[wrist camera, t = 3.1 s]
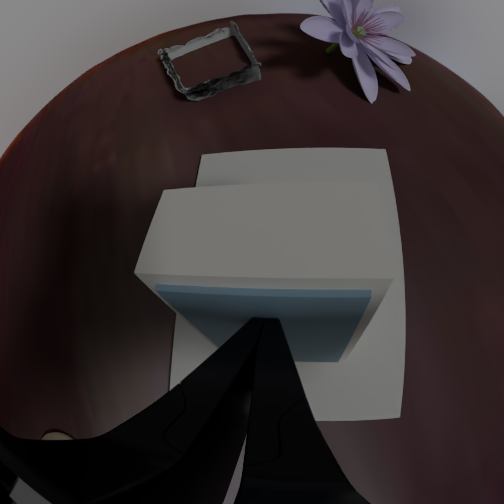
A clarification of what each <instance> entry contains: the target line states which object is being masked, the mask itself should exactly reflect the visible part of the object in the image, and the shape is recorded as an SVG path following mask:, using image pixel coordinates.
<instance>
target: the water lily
mask: <svg viewBox="0 0 504 504" xmlns="http://www.w3.org/2000/svg"><path fill="white" fill-rule="evenodd" d="M373 1H374V0H341V2H340V0H320V2H321V3H322V5H323V6H324V8H325V9H326V10H327V11H328V13H329V14H330V15H331V16H332V17H333V18H334V19H335V20H336V21H337V22H336V21H334V20H332V19H330V18H327V17H322V16H314V17H310V18H308V19H306V20H305V21H303V22H302V24H301V25H300V28H301V30H302V31H304V32H305V33H307V34H308V35H310V36H312V37H314V38H316V39H319V40H322V41H326V42H331V43H333V44H332V45H331V46H330V47H329V48H327V49H326V53H327V54H331V53H332V52H333V51H334V50H335V49H336V48H337V47H339V46H340V49H341V51H342V53H343V54H344V55H345V56H346V57H349V58H352V63H353V67H354V70H355V73H356V76H357V79H358V81H359V83H360V86H361V88H362V90H363V91H364V93H365V95H366V97H367V98H368V100H369V102H370V103H371V104H372V103H373V101H375V100H376V97H377V93H378V82H377V77H376V73H375V70H374V68H373V66H372V64H371V62H370V60H369V58H368V56H369V57H370V58H371V59H372V60H373V61H374V62H375V63H376V64H377V65H378V66H379V67H380V68H381V69H382V70H383V71H384V72H385V73H386V74H387V75H388V76H390V77H391V78H392V79H393V80H394V81H396V82H397V83H398V84H400V85H401V86H402V87H404V88H405V89H407V90H408V91H410V85H409V83H408V80H407V78H406V77H405V75H404V74H403V72H402V71H401V70H400V68H399V67H398V66H397V65H396V64H395V63H394V62H393V61H392V60H394V61H397V62H400V63H403V64H410V63H411V61H412V59H411V57H410V56H415V53H414V52H413V51H412V50H411V49H410V48H409V47H408V46H406V45H405V44H403V43H401V42H399V41H396V40H394V39H390V38H386V37H380V36H376V35H387V34H375V35H372V34H371V33H383V32H386V31H389V30H392V29H394V28H396V27H398V26H399V25H400V24H401V23H402V22H403V20H404V15H403V14H402V13H400V8H399V7H397V6H394V5H385V6H382V7H380V8H377V9H375V10H374V11H372V12H371V13H370V14H368V13H369V11H370V10H371V8H372V5H373ZM365 52H366V53H367V54H368V56H367V54H366V53H365ZM390 59H392V60H390Z"/></svg>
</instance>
